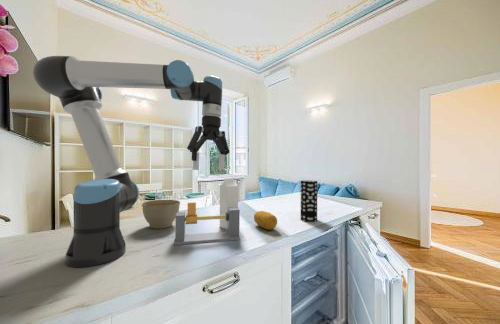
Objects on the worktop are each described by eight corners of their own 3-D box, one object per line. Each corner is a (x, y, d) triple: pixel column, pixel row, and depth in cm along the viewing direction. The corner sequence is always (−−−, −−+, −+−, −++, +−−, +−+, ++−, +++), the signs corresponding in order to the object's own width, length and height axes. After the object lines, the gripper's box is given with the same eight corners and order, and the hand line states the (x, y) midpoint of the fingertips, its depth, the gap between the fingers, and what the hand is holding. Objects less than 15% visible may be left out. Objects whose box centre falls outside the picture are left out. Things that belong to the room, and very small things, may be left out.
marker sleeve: (185, 224, 78) (186, 203, 78) (186, 221, 81) (186, 202, 82) (197, 223, 79) (197, 203, 79) (197, 221, 82) (197, 201, 82)
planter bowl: (171, 231, 89) (172, 206, 89) (134, 231, 90) (134, 205, 90) (184, 221, 105) (184, 199, 105) (152, 220, 106) (152, 199, 106)
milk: (237, 227, 97) (238, 178, 97) (227, 229, 92) (227, 179, 93) (229, 224, 101) (230, 177, 101) (219, 226, 97) (219, 178, 97)
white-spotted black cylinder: (306, 216, 115) (306, 180, 116) (320, 220, 109) (320, 181, 109) (297, 219, 110) (297, 180, 110) (310, 223, 104) (311, 182, 104)
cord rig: (173, 244, 75) (173, 213, 75) (175, 237, 83) (176, 209, 83) (240, 239, 81) (240, 210, 81) (236, 232, 88) (236, 206, 89)
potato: (264, 222, 104) (264, 208, 104) (281, 231, 91) (281, 215, 91) (251, 224, 101) (251, 209, 101) (266, 233, 88) (266, 216, 88)
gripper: (192, 108, 73) (189, 170, 72) (238, 121, 93) (236, 170, 92) (179, 111, 77) (176, 169, 77) (226, 123, 97) (224, 169, 97)
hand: (209, 169), depth 85 cm, fingers open, 13 cm apart
